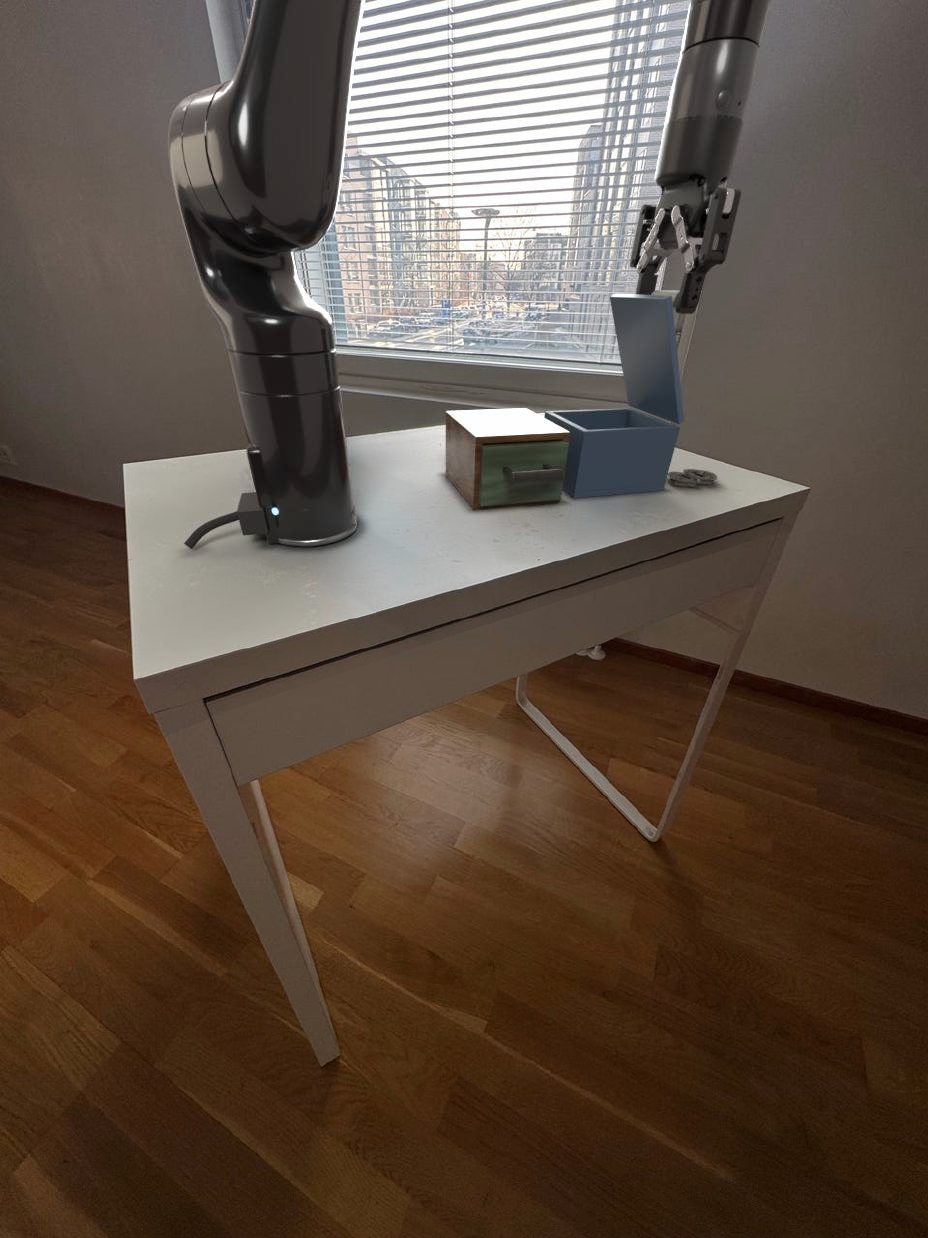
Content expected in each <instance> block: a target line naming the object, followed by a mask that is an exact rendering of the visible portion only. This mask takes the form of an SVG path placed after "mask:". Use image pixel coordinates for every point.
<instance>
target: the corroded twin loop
mask: <svg viewBox="0 0 928 1238" xmlns="http://www.w3.org/2000/svg"><path fill="white" fill-rule="evenodd" d="M667 477H669V478H668V481H669V483H670V484H672V485H674V486H679V487H686V488H687V487H688V488H690V487H696V486H697V485H707V486H709V485H712V484H714V482H715V480H717V479H718V475H717V474H716V473H714V472H712V471H709V470H703V469H695V468H685V469H683V470H682V472H681V471H668V475H667Z"/></svg>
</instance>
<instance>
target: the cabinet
mask: <svg viewBox="0 0 928 1238" xmlns="http://www.w3.org/2000/svg"><path fill="white" fill-rule="evenodd" d="M569 437H570V432H569V431H567V430H565V429H563V428H562V427H560V426H558V425H556V424H554V423H552V422H551V421H549V420H547V419H545V418H544V417H543V416H541V415H540V414H538V413H536V412H534V411H532V410H530V408H529V409H528V408H527V407H523V408H522V407H521V408H520V407H519V408H493V409H491V408H490V409H467V410H463V409H462V410H446V411H445V477H447V479H448V480H449V481H450V483H451V484H452V485H453V486H454V488H455V489H456V490H457V491H458V494H459V495H460V496H461V497H462V498H463V499H464V501H465V502H466V503H467V504H468V506H469V507H470V508H471V510H472V511H481V510H490V509H491V510H493V509H502V508H503V509H504V508H515V507H526V506H527V507H528V506H536V505H547V504H548V505H550V504H558V503H561V499H560V500H549V501H537V502H526V503H515V504H503V505H492V506H481V505H480V504H479V503H478V499H479V475H480V451H481V445H482V444H488V443H507V442H525V441H543V440H554V441H566V442H568V443H569Z"/></svg>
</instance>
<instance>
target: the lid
mask: <svg viewBox="0 0 928 1238" xmlns="http://www.w3.org/2000/svg"><path fill="white" fill-rule="evenodd" d="M679 292H680V289H655V291H654V292H653V293H652V294H651V295H638V294H636V293H634V294H633V293H614V294H612V295H610V296H609V302H610V308H611V311H612V319H613V324H614V330H615V335H616V342H617V346H618V351H619V359H620V365H621V371H622V375H623V382H624V388H625V393H626V398H627V405H628V406H629V407H630V408H632V409H635V410H638V411H641V412H643V413H646V414H649V415H651V416H654V417H657V418H659V419H662V420H665V421H668V422H670V423H671V422H672V423H673V424H676V425H680V424H683V423H684V422H685V413H684V406H683V405H684V404H683V395H682V383H681V375H680V365H679V355H678V345H677V336H676V327H675V316H674V310H676V305H677V301H678V296H679Z"/></svg>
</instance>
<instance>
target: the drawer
mask: <svg viewBox="0 0 928 1238" xmlns="http://www.w3.org/2000/svg"><path fill="white" fill-rule="evenodd" d="M568 446H569V443H568V442H566V441H554V440H543V441H525V442H507V443H488V444H482V445H481V451H480V475H479V499H478V503H479V504H480V505H481V506H492V505H503V504H515V503H526V502H537V501H549V500H560V501H561V500H562V493H563V489H562V488H563V481H564V474H565V467H566V460H567V453H568Z"/></svg>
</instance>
